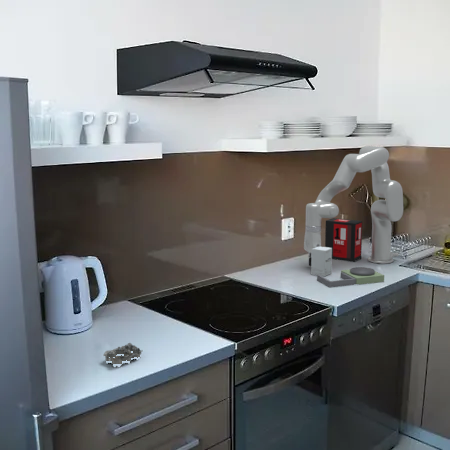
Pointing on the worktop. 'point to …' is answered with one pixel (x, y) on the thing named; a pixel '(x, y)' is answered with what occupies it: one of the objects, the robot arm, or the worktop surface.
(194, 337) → the worktop surface
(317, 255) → the supplement box
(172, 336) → the worktop surface
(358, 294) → the worktop surface
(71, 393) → the worktop surface
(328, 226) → the cleaning product box
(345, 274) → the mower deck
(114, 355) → the grey lumpy cluster
